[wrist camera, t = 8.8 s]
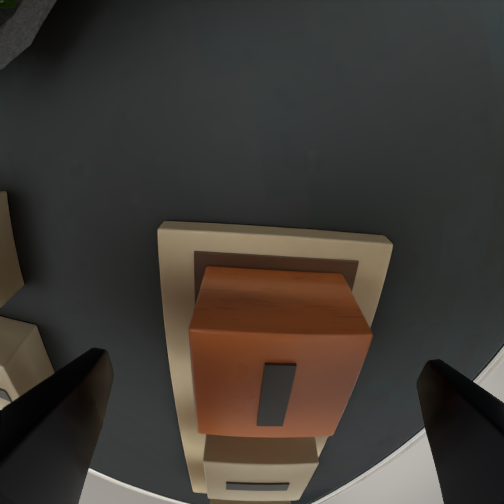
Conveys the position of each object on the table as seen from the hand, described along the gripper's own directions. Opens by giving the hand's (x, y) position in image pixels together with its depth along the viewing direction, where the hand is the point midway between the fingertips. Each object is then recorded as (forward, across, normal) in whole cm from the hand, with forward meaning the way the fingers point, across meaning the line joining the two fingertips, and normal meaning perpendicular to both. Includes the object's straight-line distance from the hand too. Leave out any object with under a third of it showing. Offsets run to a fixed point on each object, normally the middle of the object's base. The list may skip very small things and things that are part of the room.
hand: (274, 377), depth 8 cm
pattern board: (+3, 0, +6) cm, 7 cm away
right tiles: (+2, 0, +9) cm, 9 cm away
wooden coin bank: (+2, 0, 0) cm, 2 cm away
